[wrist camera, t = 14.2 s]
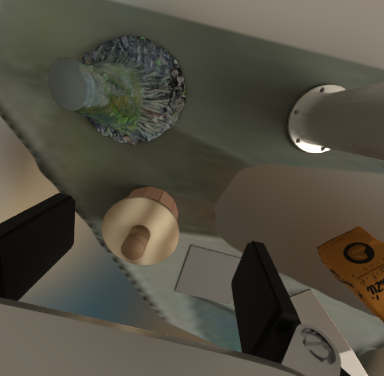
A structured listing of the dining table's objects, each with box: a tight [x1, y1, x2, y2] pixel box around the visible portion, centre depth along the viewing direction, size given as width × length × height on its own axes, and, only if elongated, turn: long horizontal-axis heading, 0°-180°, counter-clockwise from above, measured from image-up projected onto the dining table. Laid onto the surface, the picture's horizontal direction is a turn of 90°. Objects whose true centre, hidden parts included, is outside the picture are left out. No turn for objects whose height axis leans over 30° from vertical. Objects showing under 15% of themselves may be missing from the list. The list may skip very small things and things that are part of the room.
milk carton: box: [290, 290, 368, 376], centre depth 46 cm, size 7×7×19 cm
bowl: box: [126, 186, 178, 220], centre depth 42 cm, size 13×13×8 cm
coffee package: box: [317, 226, 384, 322], centre depth 38 cm, size 10×12×22 cm
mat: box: [175, 245, 241, 304], centre depth 52 cm, size 16×16×1 cm
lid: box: [102, 196, 179, 265], centre depth 36 cm, size 15×15×6 cm
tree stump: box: [49, 35, 186, 145], centre depth 32 cm, size 18×20×18 cm
